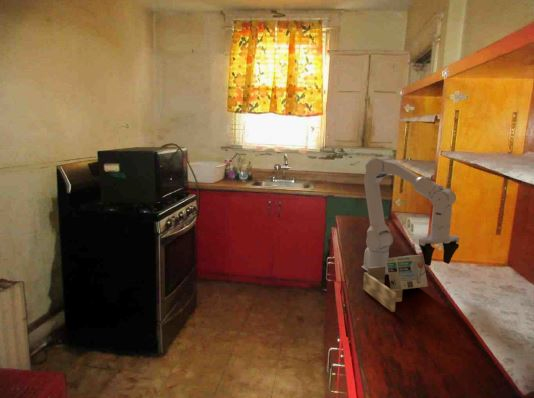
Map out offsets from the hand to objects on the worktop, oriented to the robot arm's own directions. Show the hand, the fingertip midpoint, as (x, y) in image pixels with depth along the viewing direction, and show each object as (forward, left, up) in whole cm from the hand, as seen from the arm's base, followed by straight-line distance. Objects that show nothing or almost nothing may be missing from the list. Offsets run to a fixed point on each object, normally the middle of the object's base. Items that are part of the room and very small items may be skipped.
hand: (436, 263), depth 128 cm
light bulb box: (-1, -9, -8) cm, 13 cm away
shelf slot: (+2, -20, -9) cm, 22 cm away
